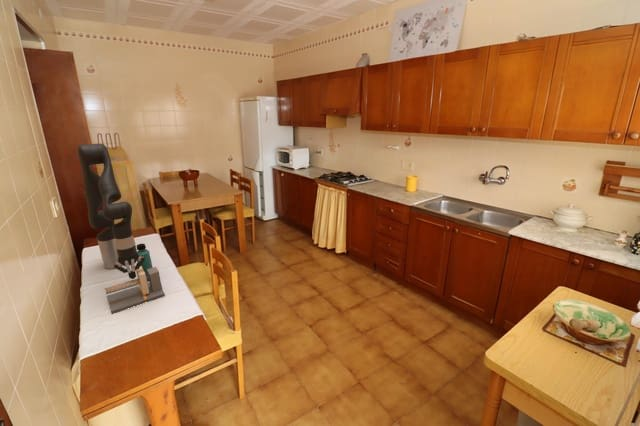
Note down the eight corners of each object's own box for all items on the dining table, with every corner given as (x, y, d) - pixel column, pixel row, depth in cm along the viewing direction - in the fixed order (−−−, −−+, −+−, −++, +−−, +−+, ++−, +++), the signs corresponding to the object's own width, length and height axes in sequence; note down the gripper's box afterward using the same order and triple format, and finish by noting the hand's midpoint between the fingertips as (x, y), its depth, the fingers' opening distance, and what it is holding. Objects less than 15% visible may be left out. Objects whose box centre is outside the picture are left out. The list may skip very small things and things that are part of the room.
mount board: (107, 298, 146) (101, 277, 142) (157, 282, 159) (153, 263, 155) (111, 314, 135) (105, 292, 131) (165, 296, 148) (161, 275, 144)
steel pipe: (105, 292, 139) (104, 286, 138) (151, 278, 151) (150, 273, 150) (106, 296, 137) (105, 290, 136) (153, 281, 148) (152, 275, 147)
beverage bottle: (157, 276, 164) (151, 243, 158) (147, 282, 159) (140, 248, 152) (148, 274, 166) (141, 241, 160) (137, 280, 161) (130, 246, 154)
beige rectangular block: (139, 286, 151) (135, 267, 147) (145, 284, 152) (141, 266, 149) (143, 294, 144) (139, 275, 141) (149, 292, 146) (145, 273, 142)
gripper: (140, 238, 144) (146, 270, 150) (107, 246, 136) (115, 279, 142) (143, 244, 139) (150, 277, 145) (109, 252, 131) (117, 286, 137)
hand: (132, 278), depth 144 cm, fingers closed
